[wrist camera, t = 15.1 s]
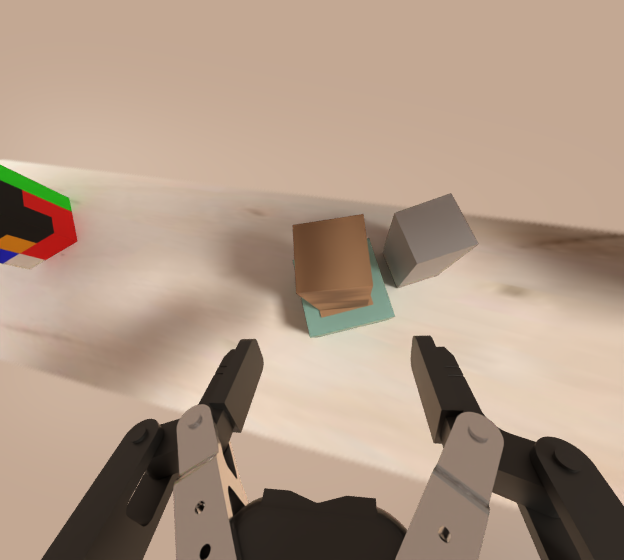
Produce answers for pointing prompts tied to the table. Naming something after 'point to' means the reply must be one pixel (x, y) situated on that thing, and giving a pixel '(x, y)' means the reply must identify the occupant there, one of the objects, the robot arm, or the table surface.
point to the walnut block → (333, 263)
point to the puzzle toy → (32, 221)
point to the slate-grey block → (426, 240)
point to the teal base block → (355, 316)
